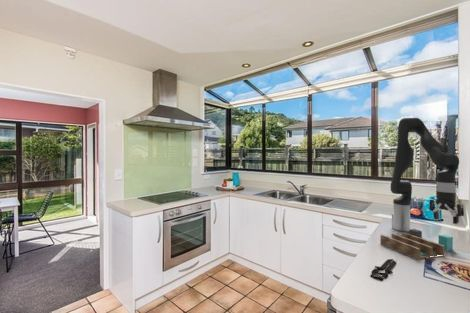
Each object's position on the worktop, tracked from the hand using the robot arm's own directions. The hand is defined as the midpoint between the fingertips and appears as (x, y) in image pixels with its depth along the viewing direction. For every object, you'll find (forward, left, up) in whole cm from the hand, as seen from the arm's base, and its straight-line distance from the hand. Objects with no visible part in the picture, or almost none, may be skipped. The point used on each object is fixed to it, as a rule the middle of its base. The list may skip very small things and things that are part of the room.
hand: (445, 221), depth 118 cm
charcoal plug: (-11, -6, -15) cm, 19 cm away
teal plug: (0, 0, -15) cm, 15 cm away
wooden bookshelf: (-4, -19, -15) cm, 24 cm away
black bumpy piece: (+9, -51, -15) cm, 54 cm away
